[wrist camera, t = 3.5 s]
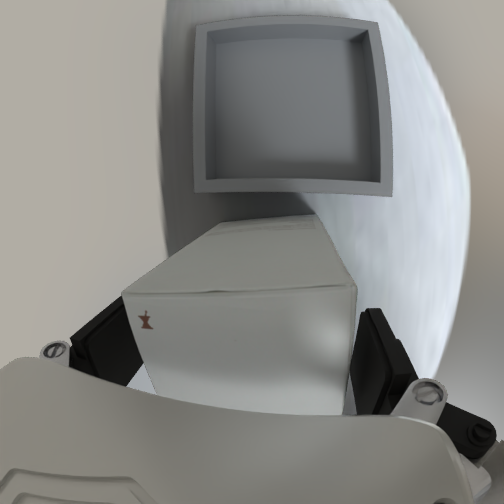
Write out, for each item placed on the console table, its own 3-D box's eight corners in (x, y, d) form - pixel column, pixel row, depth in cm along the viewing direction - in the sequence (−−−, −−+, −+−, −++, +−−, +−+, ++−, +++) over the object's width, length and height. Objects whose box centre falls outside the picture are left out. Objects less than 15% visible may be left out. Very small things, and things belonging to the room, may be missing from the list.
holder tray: (378, 193, 17) (392, 197, 15) (209, 190, 19) (194, 193, 17) (368, 40, 14) (377, 22, 11) (209, 41, 16) (196, 25, 13)
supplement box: (231, 311, 22) (169, 434, 10) (218, 220, 20) (111, 287, 8) (324, 308, 20) (339, 446, 8) (321, 212, 19) (359, 279, 7)
